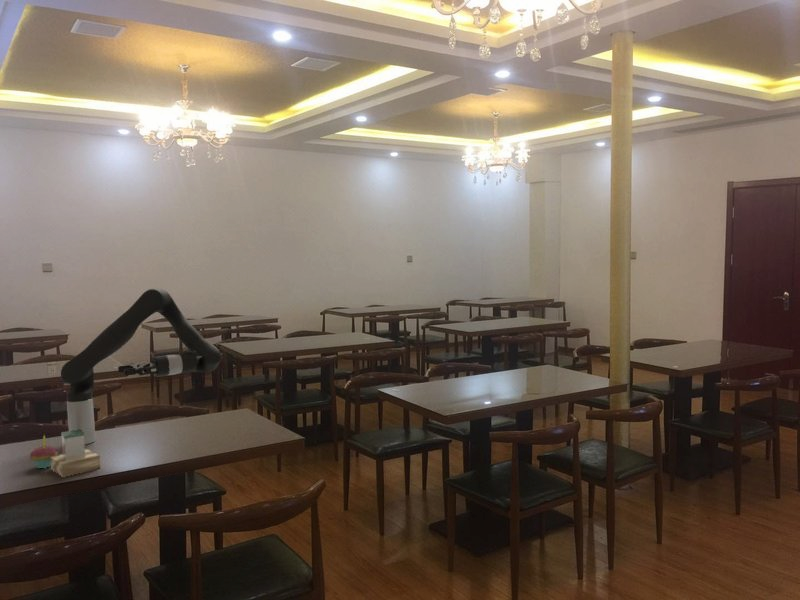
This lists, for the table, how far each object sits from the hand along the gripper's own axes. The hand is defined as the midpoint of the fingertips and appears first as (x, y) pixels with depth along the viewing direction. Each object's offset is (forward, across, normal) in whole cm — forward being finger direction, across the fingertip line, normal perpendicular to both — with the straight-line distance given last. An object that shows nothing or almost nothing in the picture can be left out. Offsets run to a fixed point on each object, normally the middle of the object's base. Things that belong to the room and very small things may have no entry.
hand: (121, 371), depth 231 cm
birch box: (+17, 0, +33) cm, 37 cm away
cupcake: (+25, -10, +32) cm, 42 cm away
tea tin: (+17, 0, +28) cm, 32 cm away
